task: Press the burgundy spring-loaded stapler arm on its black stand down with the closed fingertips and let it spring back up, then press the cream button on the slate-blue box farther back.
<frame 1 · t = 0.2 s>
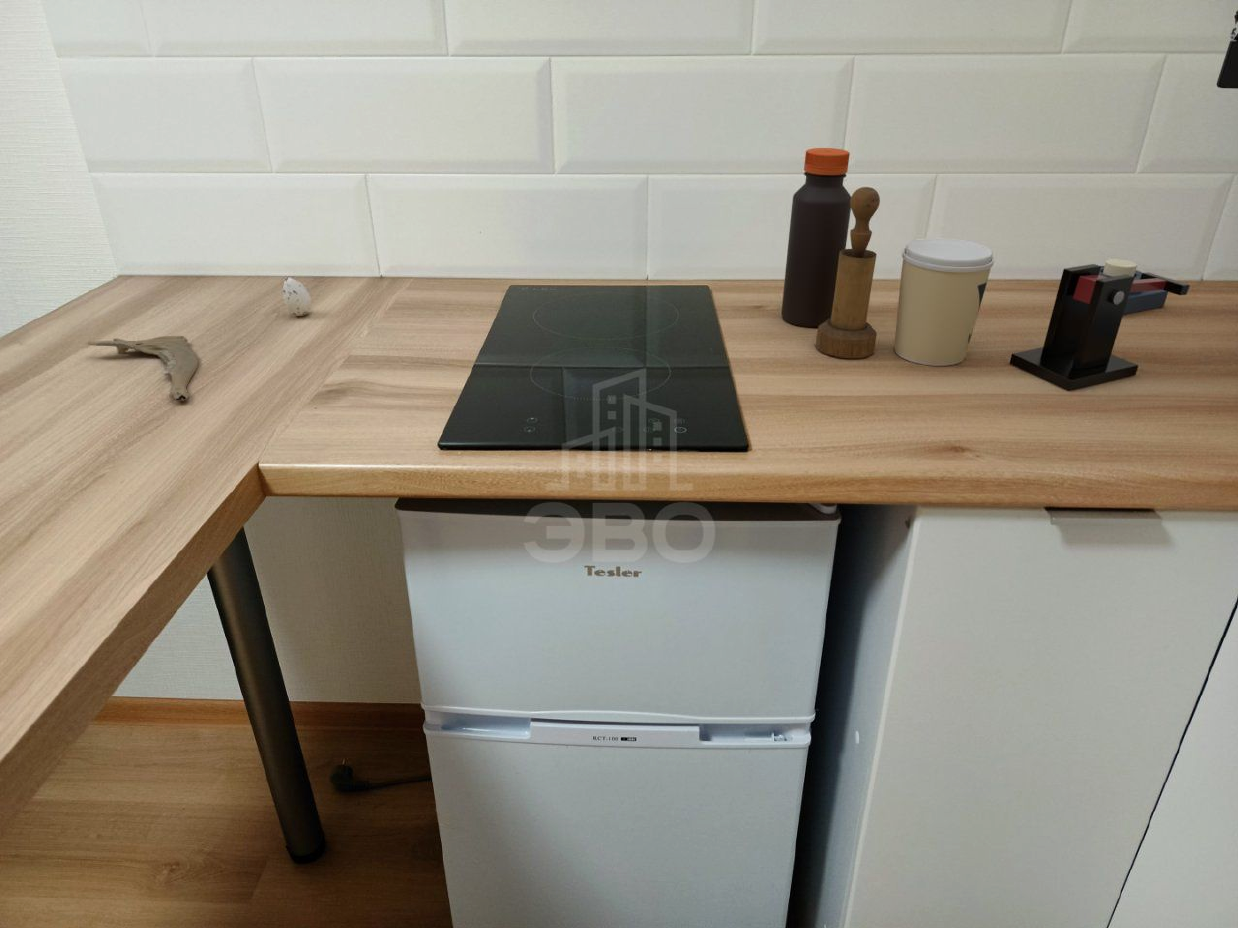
egg: (300, 317, 108), on the table
stapler arm: (1127, 286, 91), point 9 cm above the table, hinge at -4.1°
button: (1119, 269, 111), point 4 cm above the table, slide at 0.1 cm
button box: (1109, 302, 113), on the table
mortar and pestle: (844, 350, 99), on the table
black stand: (1071, 369, 94), on the table
bottle: (808, 320, 108), on the table
coffee cup: (928, 354, 98), on the table
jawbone: (141, 379, 92), on the table
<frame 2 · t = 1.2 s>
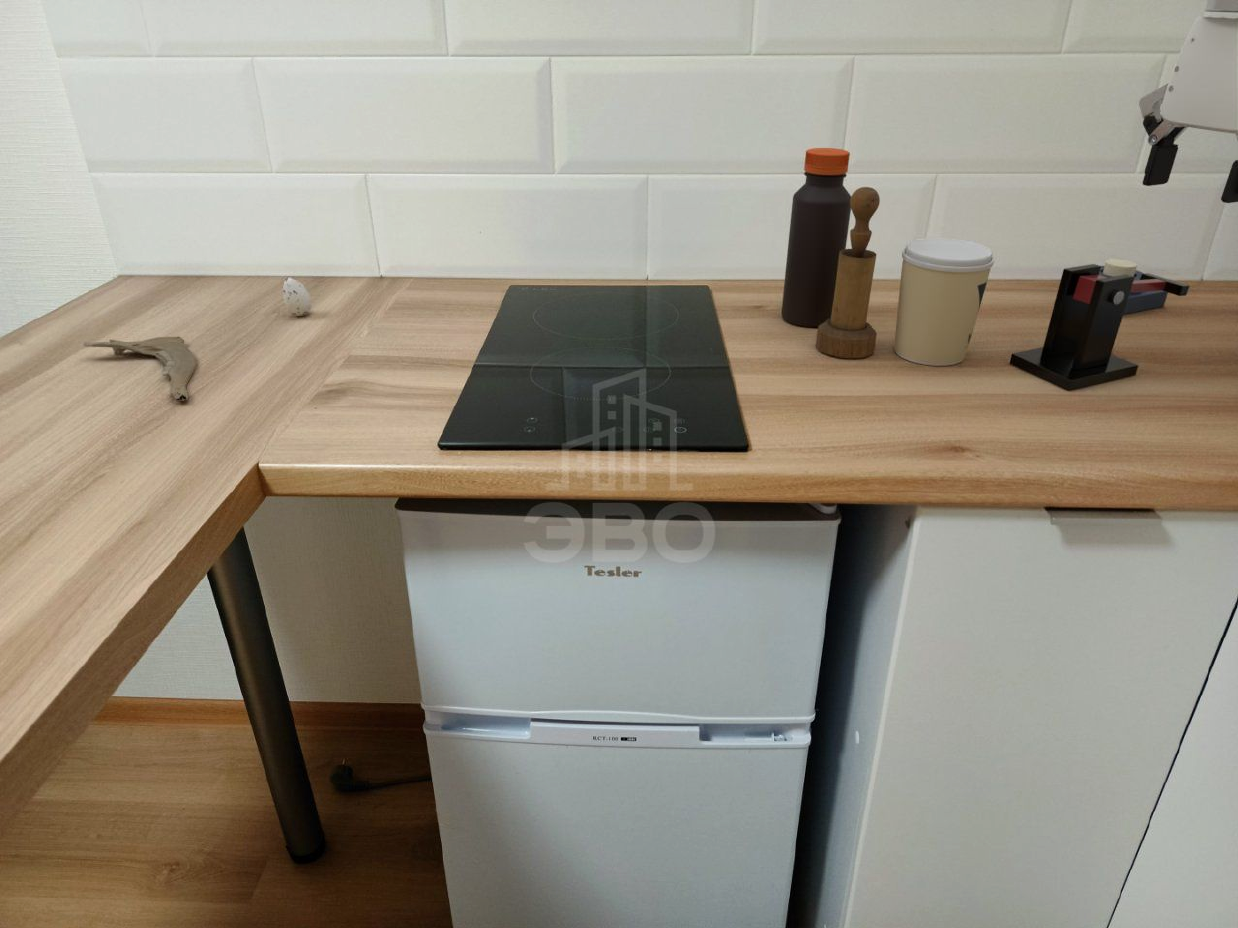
hand: (1192, 192, 89), 18 cm above the table, tool pointing down, fingers open, 8 cm apart
stapler arm: (1126, 287, 91), point 9 cm above the table, hinge at -4.5°
everything else where it was.
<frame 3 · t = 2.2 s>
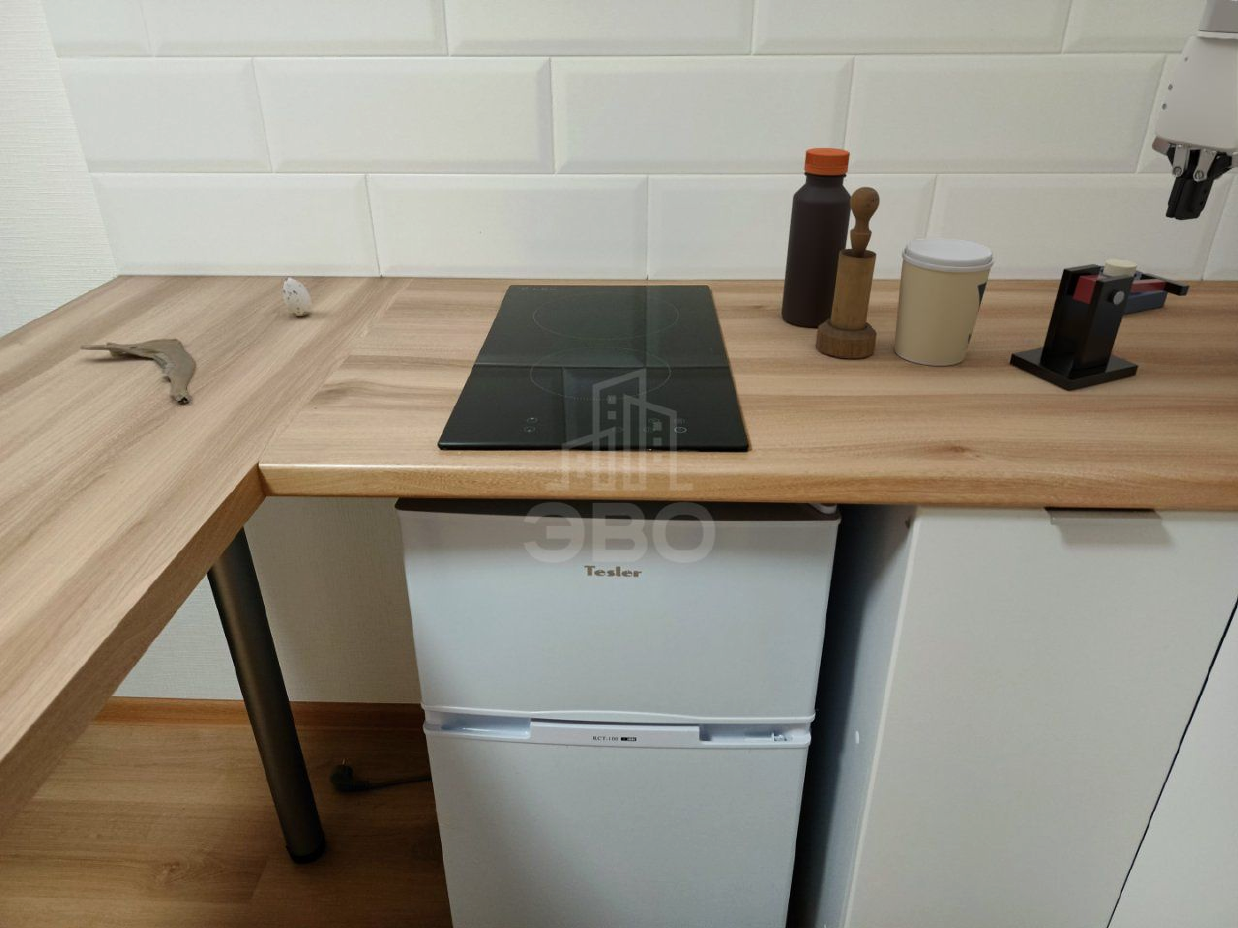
hand: (1182, 217, 90), 15 cm above the table, tool pointing down, fingers closed
nothing on the table moved.
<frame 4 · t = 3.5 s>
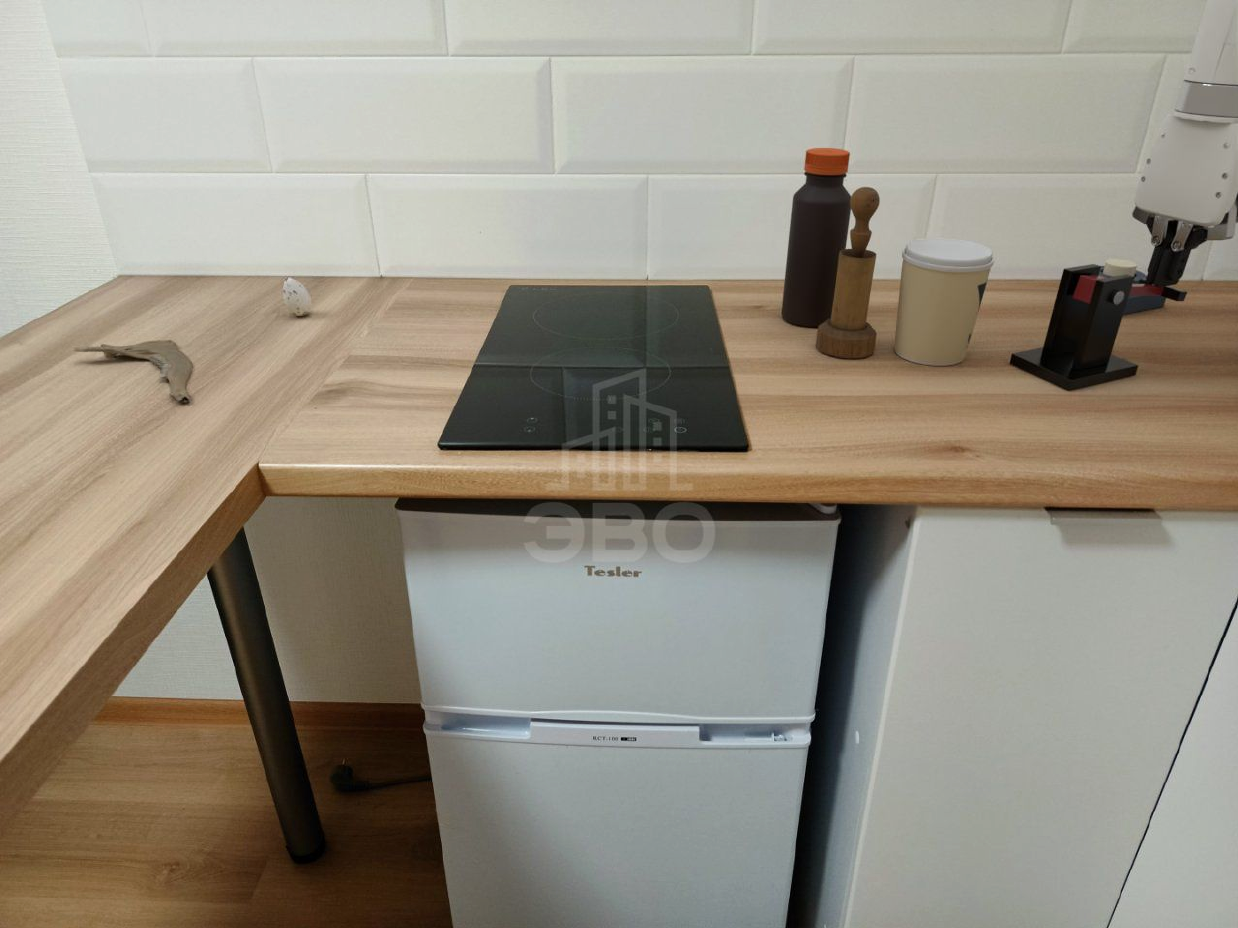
hand: (1161, 283, 94), 8 cm above the table, tool pointing down, fingers closed
stapler arm: (1126, 289, 92), point 8 cm above the table, hinge at -7.8°, touching gripper
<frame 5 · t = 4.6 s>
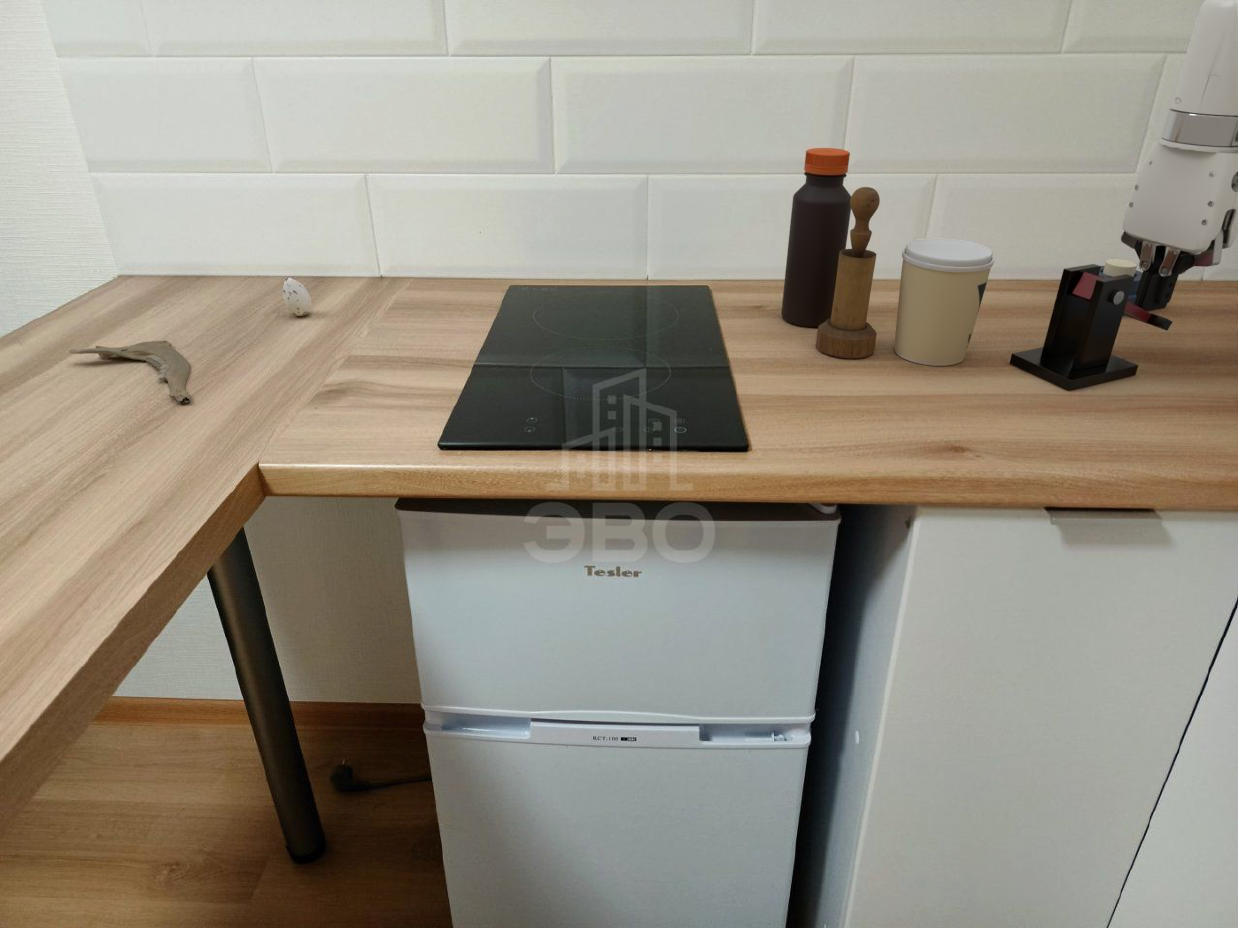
hand: (1149, 307, 95), 6 cm above the table, tool pointing down, fingers closed
stapler arm: (1119, 303, 92), point 7 cm above the table, hinge at -24.5°, touching gripper
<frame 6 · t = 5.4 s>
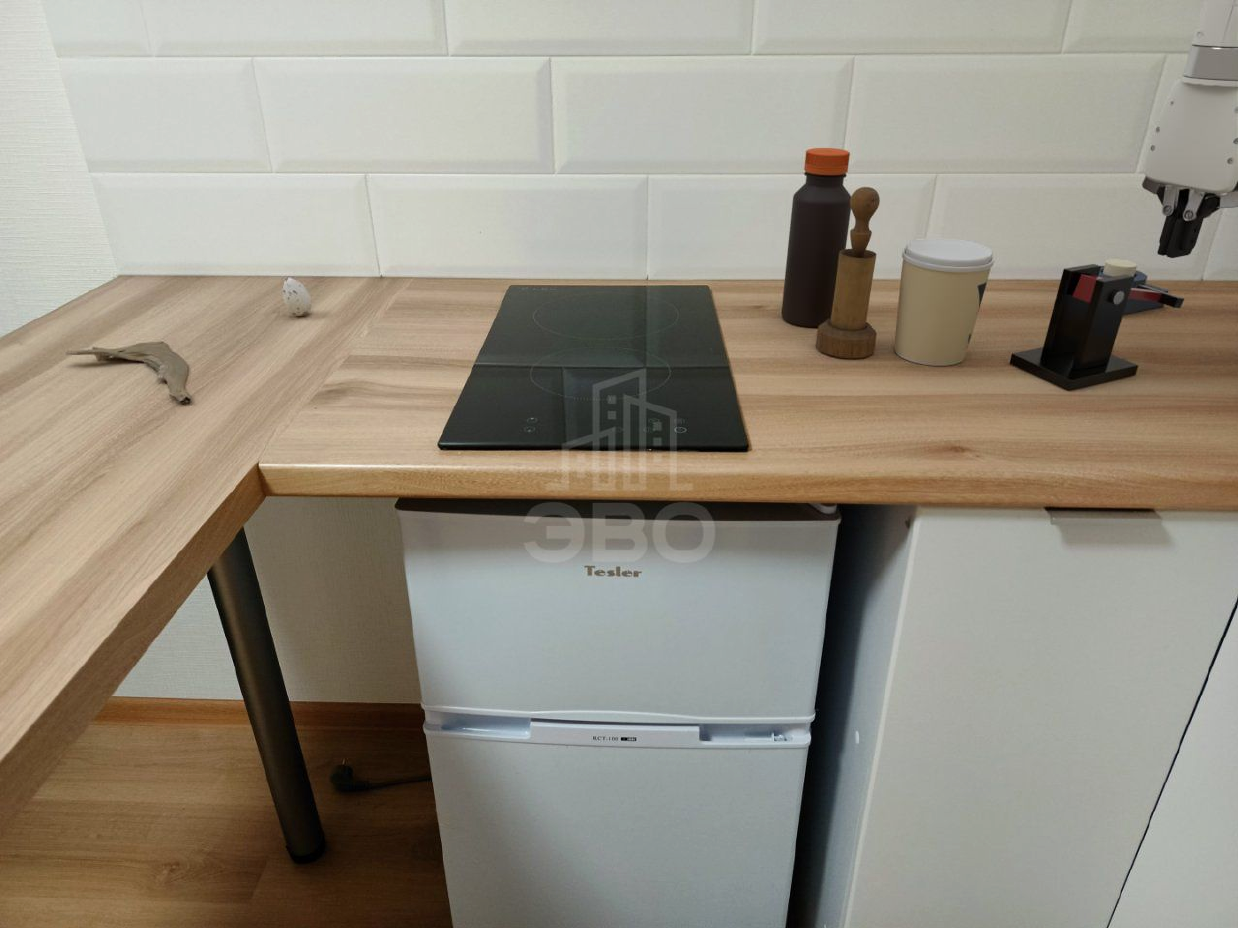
hand: (1173, 254, 92), 12 cm above the table, tool pointing down, fingers closed
stapler arm: (1124, 292, 92), point 8 cm above the table, hinge at -11.5°
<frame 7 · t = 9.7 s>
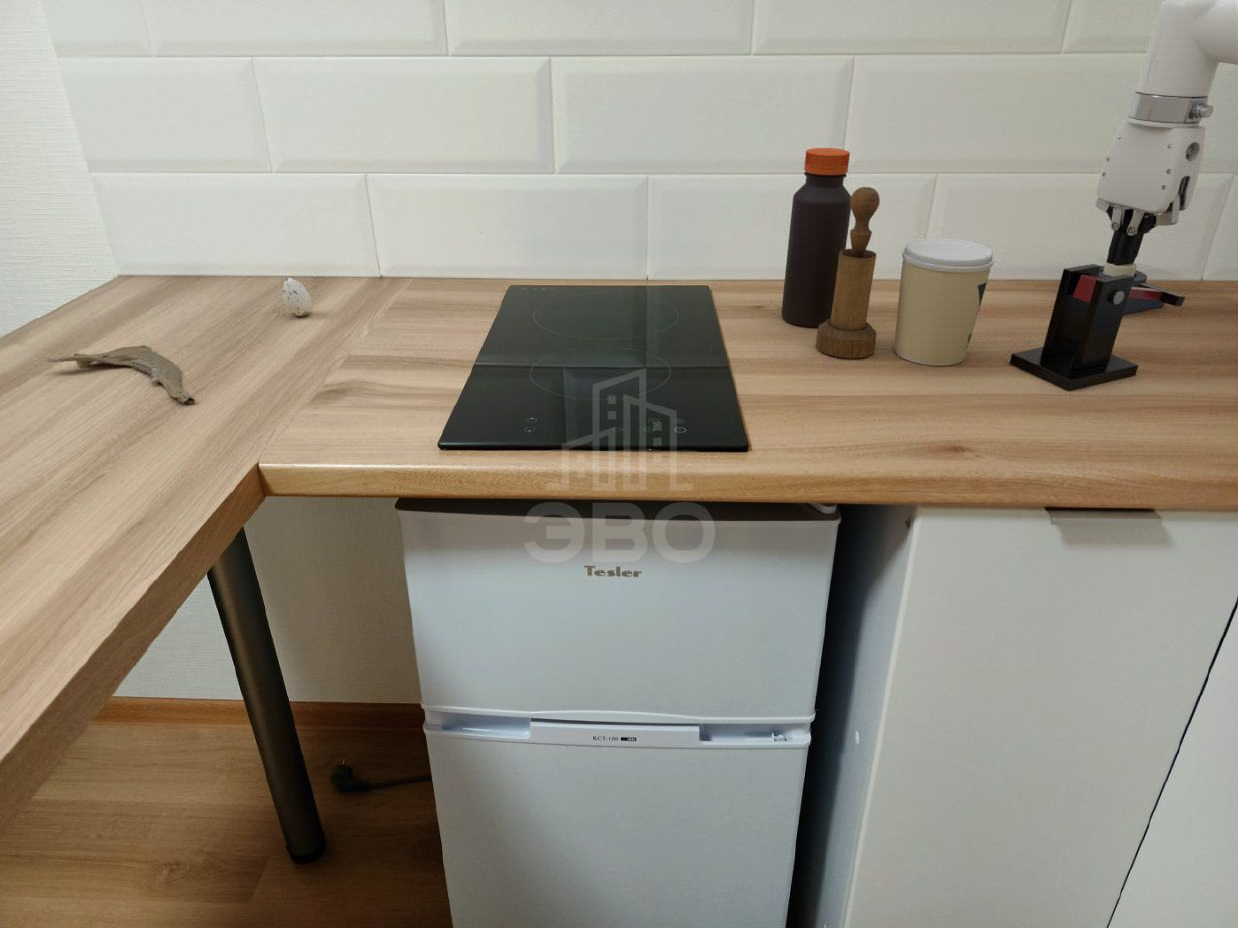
hand: (1119, 262, 111), 5 cm above the table, tool pointing down, fingers closed
stapler arm: (1125, 292, 92), point 8 cm above the table, hinge at -10.6°
button: (1119, 270, 111), point 4 cm above the table, slide at 0.0 cm, touching gripper
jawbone: (124, 389, 90), on the table
everything else where it was.
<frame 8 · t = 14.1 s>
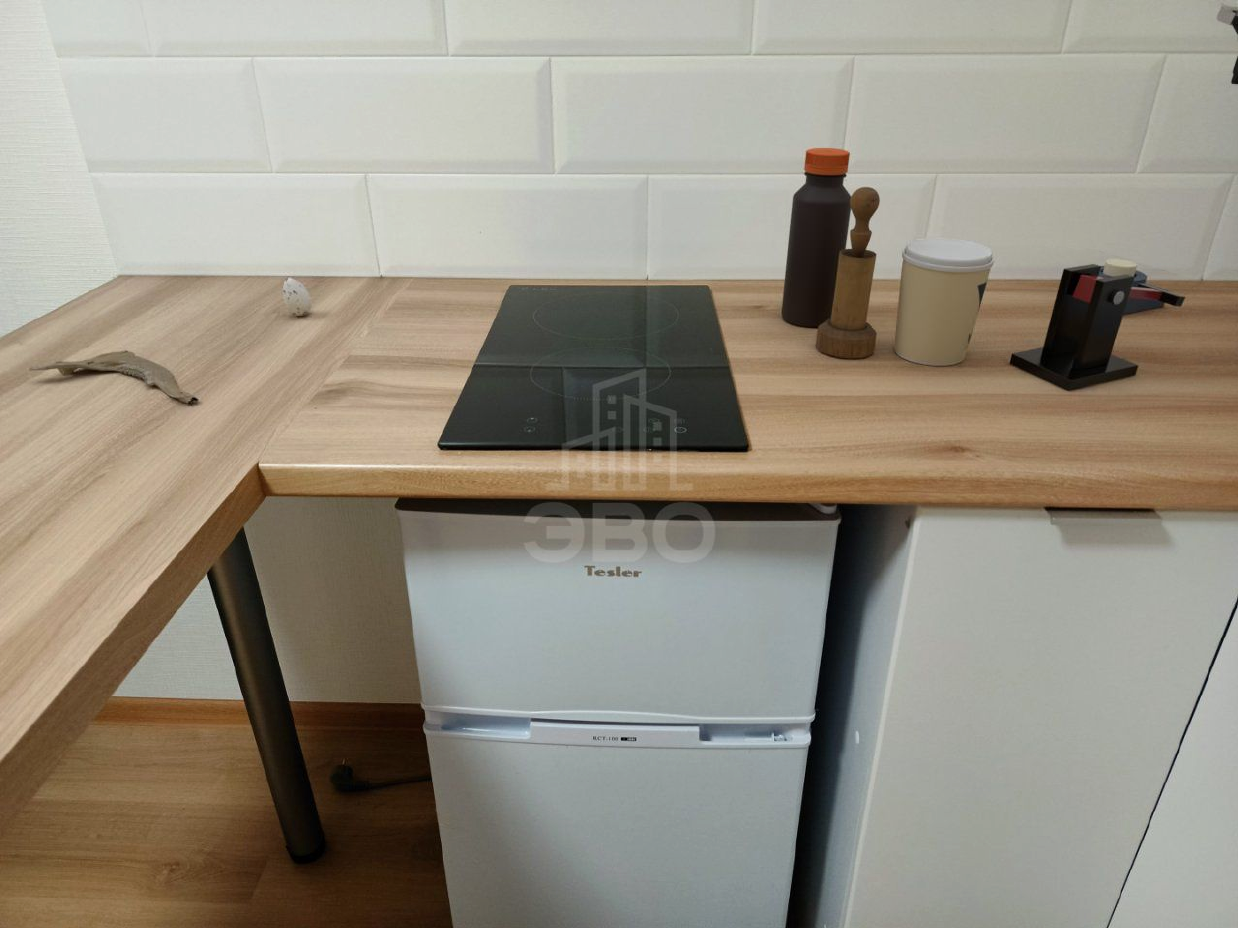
button: (1119, 269, 111), point 4 cm above the table, slide at 0.1 cm
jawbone: (117, 394, 89), on the table
everything else where it was.
at the end: stapler arm reached -24° during the clip, -11° at the end; stapler arm at -11° (first picture: -3°); button pushed in 1.1 cm at the most during the clip, back to where it started at the end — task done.
